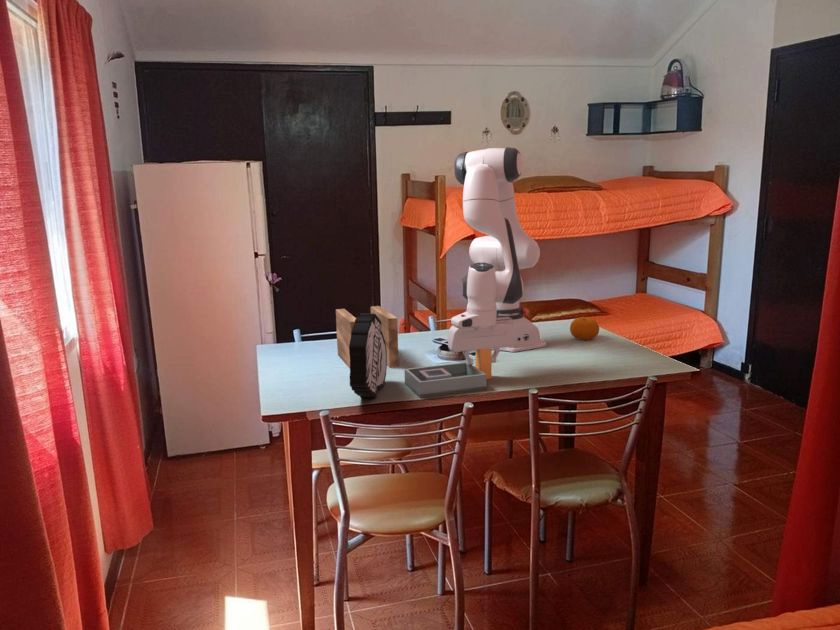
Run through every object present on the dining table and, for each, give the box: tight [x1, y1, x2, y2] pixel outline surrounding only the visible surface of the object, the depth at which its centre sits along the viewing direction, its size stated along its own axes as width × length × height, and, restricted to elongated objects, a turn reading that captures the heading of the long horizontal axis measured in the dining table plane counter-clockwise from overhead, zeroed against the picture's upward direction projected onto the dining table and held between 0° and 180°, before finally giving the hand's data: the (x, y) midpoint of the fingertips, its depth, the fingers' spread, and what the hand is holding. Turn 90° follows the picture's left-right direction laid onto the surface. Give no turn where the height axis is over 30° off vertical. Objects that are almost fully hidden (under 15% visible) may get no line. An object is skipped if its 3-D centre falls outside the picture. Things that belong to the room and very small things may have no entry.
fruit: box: [569, 316, 600, 341], centre depth 246 cm, size 10×10×8 cm
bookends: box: [335, 305, 399, 369], centre depth 222 cm, size 15×22×16 cm
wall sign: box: [349, 312, 388, 399], centre depth 186 cm, size 22×4×30 cm
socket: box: [419, 368, 452, 381], centre depth 193 cm, size 7×7×4 cm
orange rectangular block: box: [475, 348, 493, 380], centre depth 201 cm, size 4×4×10 cm
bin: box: [403, 361, 488, 399], centre depth 194 cm, size 20×14×4 cm
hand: (481, 363), depth 201 cm, fingers open, 6 cm apart
